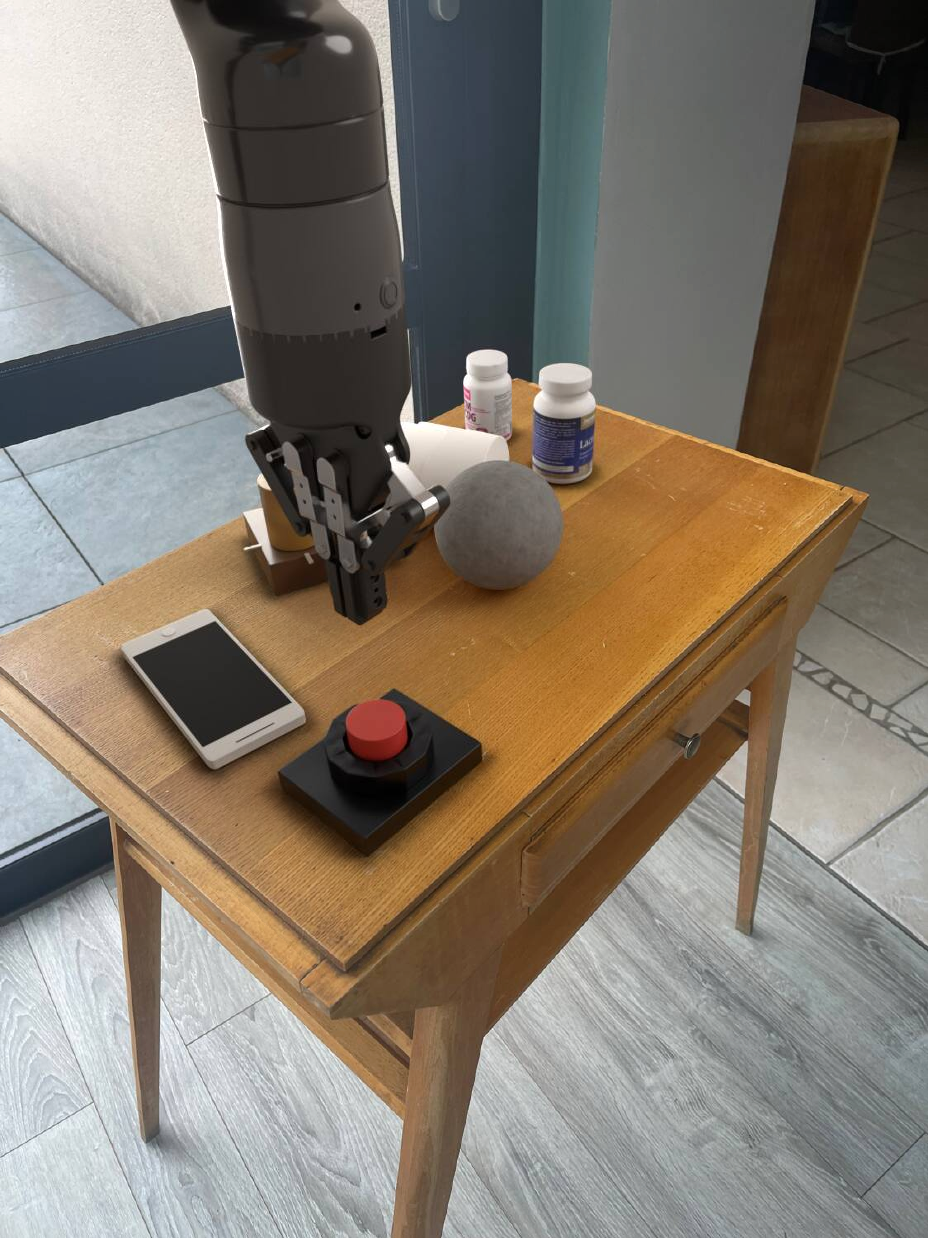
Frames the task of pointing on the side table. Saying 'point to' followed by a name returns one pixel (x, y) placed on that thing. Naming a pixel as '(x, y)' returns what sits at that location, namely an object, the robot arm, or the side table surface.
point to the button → (376, 730)
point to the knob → (279, 522)
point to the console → (283, 558)
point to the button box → (380, 776)
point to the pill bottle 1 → (488, 393)
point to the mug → (449, 451)
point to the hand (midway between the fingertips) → (361, 612)
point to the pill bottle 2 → (563, 424)
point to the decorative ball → (499, 525)
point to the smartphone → (212, 687)
